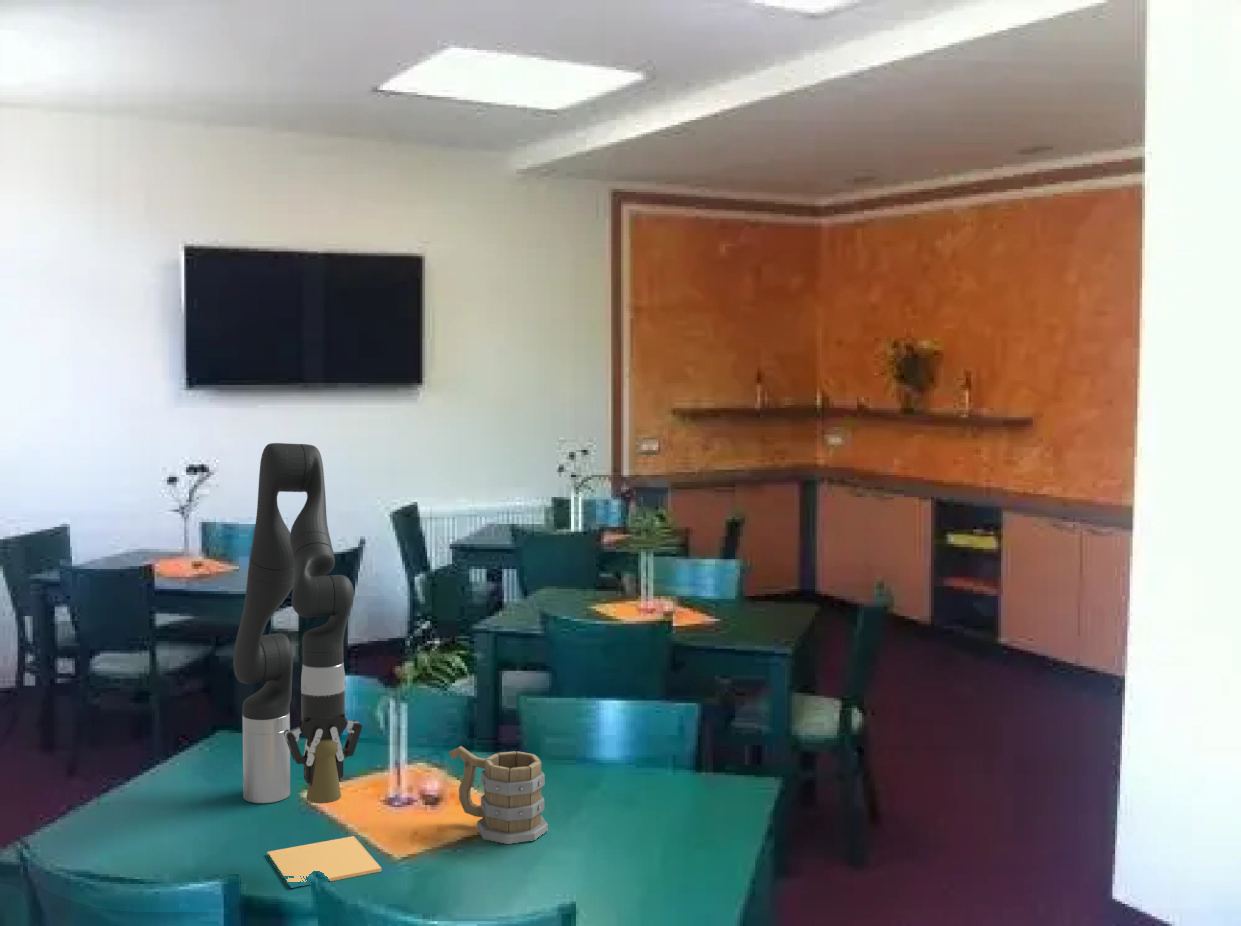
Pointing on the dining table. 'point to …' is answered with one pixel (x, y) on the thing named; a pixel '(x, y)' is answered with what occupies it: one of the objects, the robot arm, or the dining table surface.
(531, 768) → the tankard
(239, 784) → the dining table surface
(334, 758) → the cork
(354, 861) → the placemat
